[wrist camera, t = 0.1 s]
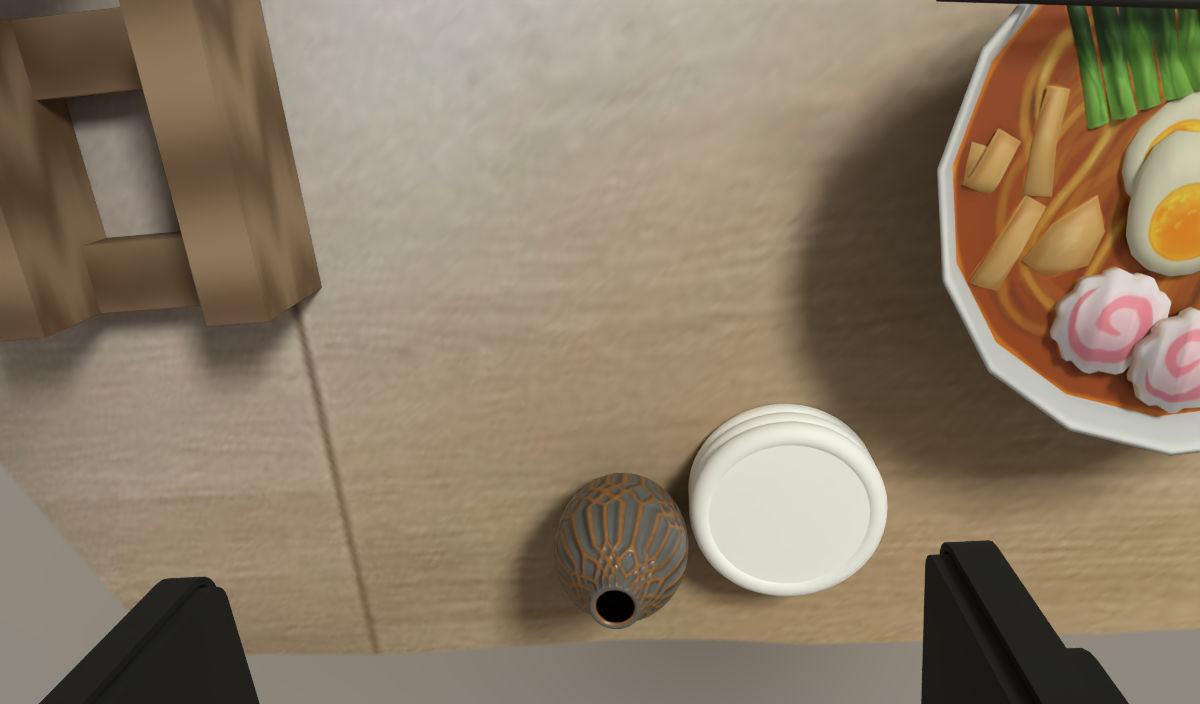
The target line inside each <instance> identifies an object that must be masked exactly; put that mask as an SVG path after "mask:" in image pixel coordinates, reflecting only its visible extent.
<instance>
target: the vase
mask: <svg viewBox="0 0 1200 704" xmlns="http://www.w3.org/2000/svg"><path fill="white" fill-rule="evenodd" d="M688 547H689V546H688V535H687V529H686V525H685V521H684V518H683V516H682V514H681V512H680V510H679V508H678V506H677V504H676V503H675V501H674V500H673V499H672V497H671V496H670V495H669V494H668V493H667V492H666V491H665V490H664V489H663V488H662V487H660V486H659V485H658V484H656V483H655V482H653V481H651V480H649V479H647V478H645V477H642V476H639V475H635V474H629V473H615V474H609V475H605V476H602V477H600V478H597V479H595V480H593V481H591V482H589V483H588V484H586V485H585V486H584V487H582V488H581V489H580V490H579V491H578V492H577V493H576V494H575V495H574V496H573V497H572V499H571V500H570V501H569V503H568V504H567V505H566V507H565V509H564V511H563V513H562V515H561V518H560V520H559V523H558V527H557V530H556V535H555V542H554V556H555V563H556V568H557V571H558V575H559V578H560V580H561V583H562V585H563V587H564V589H565V591H566V592H567V594H568V595H569V597H570V598H571V599H572V600H573V601H574V602H575V604H576V605H577V606H579V607H580V608H581V609H582V610H584V611H585V612H586V613H588V614H590V615H592V617H593V618H594V619H595V620H596V621H597V622H598V623H599V624H601V625H602V626H604V627H607V628H611V629H622V628H626V627H629V626H631V625H632V624H634V623H635V622H636V621H638V620H641V619H644V618H646V617H648V616H650V615H652V614H654V613H655V612H657V611H658V610H660V609H661V608H662V607H663V606H664V605H665V604H666V603H667V602H668V601H669V600H670V599H671V598H672V596H673V595H674V593H675V592H676V590H677V589H678V587H679V585H680V583H681V581H682V578H683V576H684V573H685V570H686V566H687V561H688Z"/></svg>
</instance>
